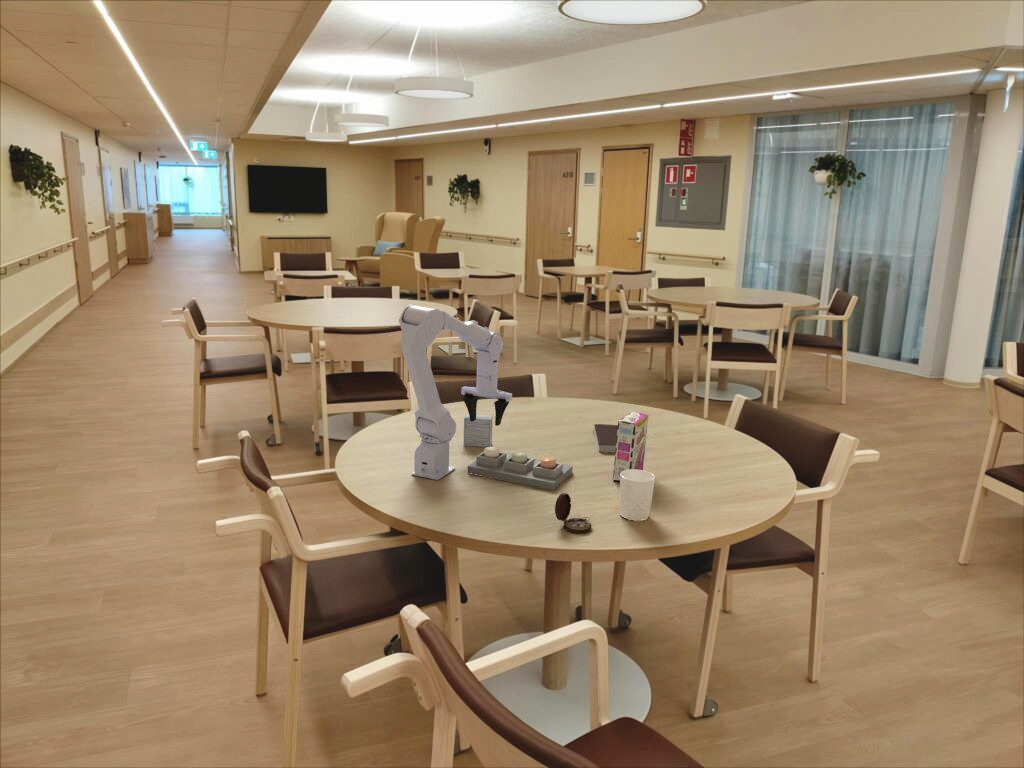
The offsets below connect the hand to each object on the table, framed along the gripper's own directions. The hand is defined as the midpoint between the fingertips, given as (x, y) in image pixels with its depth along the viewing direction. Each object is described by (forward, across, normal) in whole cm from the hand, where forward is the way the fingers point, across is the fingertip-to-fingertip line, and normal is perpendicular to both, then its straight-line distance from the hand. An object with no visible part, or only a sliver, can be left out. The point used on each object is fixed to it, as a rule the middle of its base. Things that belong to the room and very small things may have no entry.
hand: (485, 422), depth 208 cm
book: (+10, -30, -30) cm, 43 cm away
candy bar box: (+10, -40, -4) cm, 42 cm away
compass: (+10, -38, +32) cm, 51 cm away
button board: (+10, -14, +8) cm, 19 cm away
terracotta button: (+6, -22, +9) cm, 25 cm away
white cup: (+10, -48, +20) cm, 53 cm away
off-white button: (+6, -6, +9) cm, 12 cm away
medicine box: (+10, +6, -7) cm, 13 cm away
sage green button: (+6, -14, +9) cm, 18 cm away
